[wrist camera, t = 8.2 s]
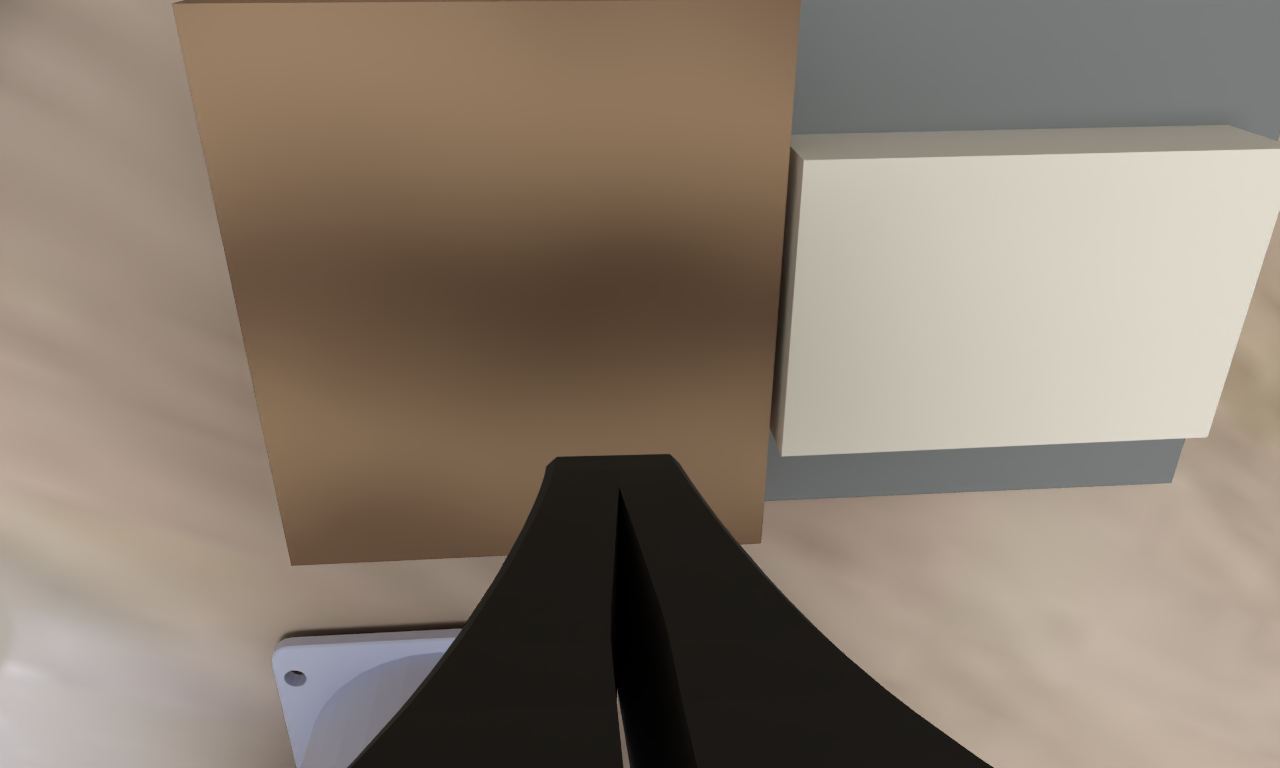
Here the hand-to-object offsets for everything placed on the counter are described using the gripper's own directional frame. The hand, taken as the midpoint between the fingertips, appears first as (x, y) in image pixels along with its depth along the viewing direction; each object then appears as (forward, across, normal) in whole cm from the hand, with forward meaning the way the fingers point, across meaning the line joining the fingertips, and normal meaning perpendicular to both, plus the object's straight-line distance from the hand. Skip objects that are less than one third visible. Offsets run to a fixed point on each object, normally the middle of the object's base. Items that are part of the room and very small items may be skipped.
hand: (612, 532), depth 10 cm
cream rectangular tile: (+10, -8, +1) cm, 13 cm away
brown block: (+10, +1, +1) cm, 10 cm away
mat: (+10, -9, +1) cm, 13 cm away
